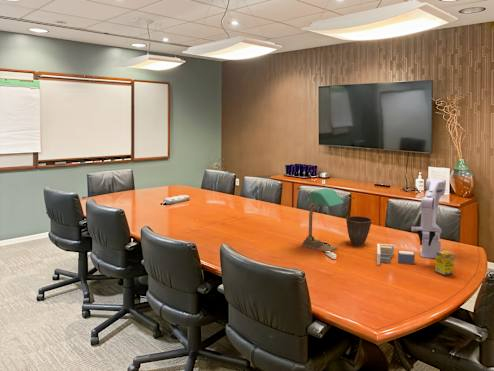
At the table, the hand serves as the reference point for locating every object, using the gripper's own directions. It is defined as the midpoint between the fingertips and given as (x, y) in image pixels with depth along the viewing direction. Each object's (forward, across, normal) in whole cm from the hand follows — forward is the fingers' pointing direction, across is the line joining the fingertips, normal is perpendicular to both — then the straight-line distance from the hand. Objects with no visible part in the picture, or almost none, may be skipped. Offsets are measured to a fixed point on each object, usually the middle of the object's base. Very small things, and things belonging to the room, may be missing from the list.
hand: (425, 245), depth 226 cm
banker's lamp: (+11, -56, +12) cm, 58 cm away
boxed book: (+10, -9, 0) cm, 14 cm away
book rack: (+10, -19, +1) cm, 22 cm away
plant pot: (+11, -35, +26) cm, 45 cm away
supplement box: (+11, +8, -12) cm, 18 cm away
